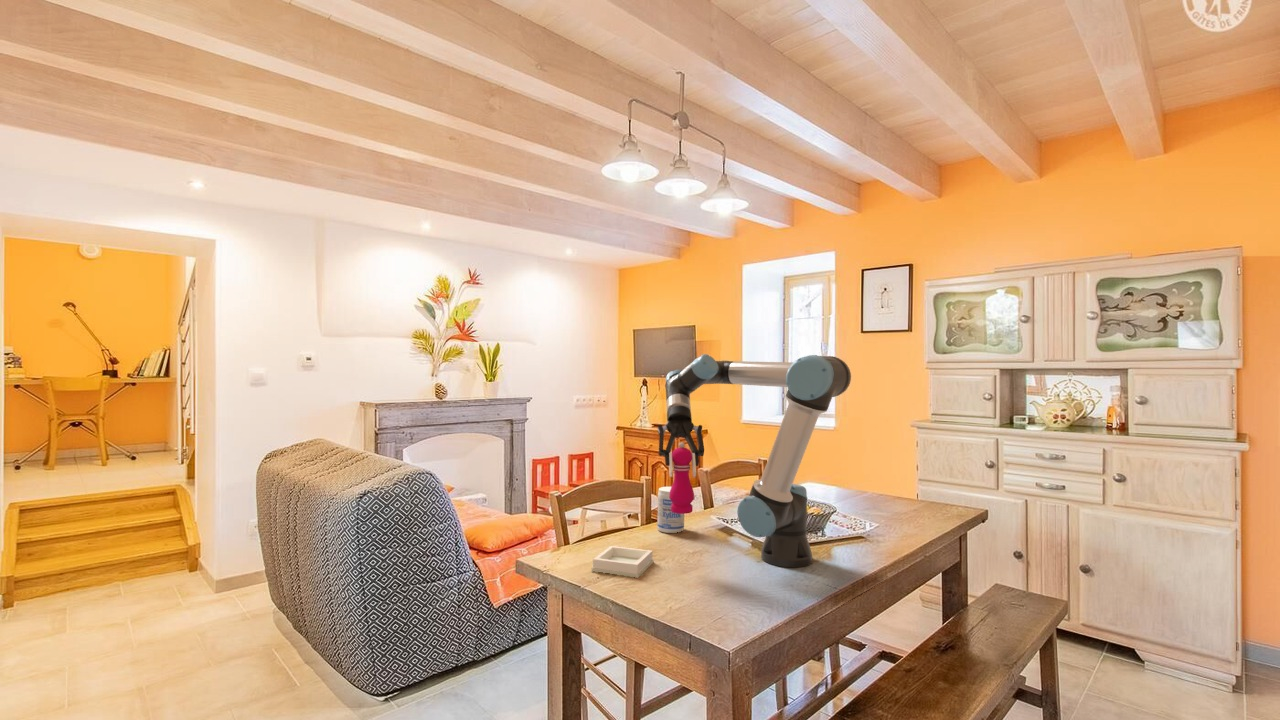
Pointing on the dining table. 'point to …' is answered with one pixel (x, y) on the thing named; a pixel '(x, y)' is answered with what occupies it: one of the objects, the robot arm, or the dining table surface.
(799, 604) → the dining table surface
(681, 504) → the pepper mill
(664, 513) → the supplement tub
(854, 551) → the dining table surface
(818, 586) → the dining table surface
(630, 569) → the ceramic tray
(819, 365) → the robot arm
